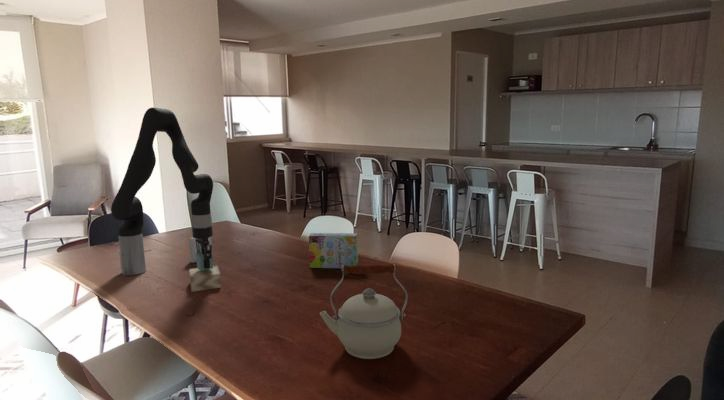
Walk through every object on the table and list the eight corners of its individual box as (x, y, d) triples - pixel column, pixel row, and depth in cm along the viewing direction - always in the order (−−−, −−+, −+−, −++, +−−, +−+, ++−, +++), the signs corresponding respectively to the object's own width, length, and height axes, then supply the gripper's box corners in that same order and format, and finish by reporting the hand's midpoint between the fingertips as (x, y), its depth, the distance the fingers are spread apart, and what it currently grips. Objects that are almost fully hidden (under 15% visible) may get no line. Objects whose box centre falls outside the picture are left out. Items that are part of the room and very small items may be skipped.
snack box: (358, 265, 207) (357, 232, 204) (356, 269, 202) (356, 235, 199) (312, 264, 209) (311, 232, 207) (309, 268, 204) (308, 235, 201)
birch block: (191, 292, 177) (190, 277, 176) (190, 283, 187) (189, 269, 186) (221, 288, 181) (220, 273, 180) (218, 279, 191) (217, 265, 190)
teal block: (200, 270, 180) (199, 256, 179) (197, 267, 184) (195, 253, 183) (213, 268, 183) (212, 253, 182) (209, 265, 187) (208, 250, 186)
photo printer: (209, 257, 222) (208, 232, 220) (214, 258, 219) (212, 233, 217) (189, 261, 215) (187, 236, 213) (193, 263, 212) (190, 237, 210)
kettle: (403, 331, 142) (403, 254, 138) (411, 362, 124) (412, 274, 119) (322, 333, 141) (320, 255, 137) (318, 365, 123) (316, 276, 119)
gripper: (187, 223, 184) (190, 263, 187) (197, 229, 173) (200, 273, 176) (206, 220, 189) (209, 260, 192) (217, 227, 177) (220, 269, 180)
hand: (205, 266), depth 184 cm, fingers closed on teal block, 4 cm apart
